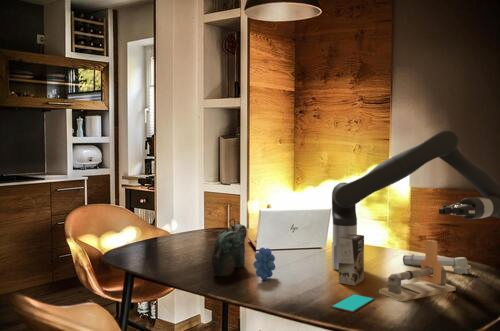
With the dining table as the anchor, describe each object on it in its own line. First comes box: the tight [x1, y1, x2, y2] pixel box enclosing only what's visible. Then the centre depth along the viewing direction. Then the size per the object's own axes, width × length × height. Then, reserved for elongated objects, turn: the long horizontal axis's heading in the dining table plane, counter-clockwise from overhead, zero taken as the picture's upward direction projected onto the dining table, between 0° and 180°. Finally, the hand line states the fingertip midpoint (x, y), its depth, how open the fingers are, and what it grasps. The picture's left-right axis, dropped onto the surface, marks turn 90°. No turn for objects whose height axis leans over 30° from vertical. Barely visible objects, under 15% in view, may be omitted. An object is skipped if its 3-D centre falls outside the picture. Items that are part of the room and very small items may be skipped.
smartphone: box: [330, 293, 375, 314], centre depth 154 cm, size 7×1×15 cm
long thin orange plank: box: [420, 239, 441, 284], centre depth 168 cm, size 2×7×14 cm, turn 27°
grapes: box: [252, 247, 276, 281], centre depth 179 cm, size 12×7×12 cm, turn 141°
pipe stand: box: [378, 266, 457, 302], centre depth 165 cm, size 24×10×7 cm, turn 117°
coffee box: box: [338, 234, 365, 286], centre depth 177 cm, size 9×6×16 cm
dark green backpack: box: [211, 218, 248, 277], centre depth 191 cm, size 20×6×20 cm, turn 150°
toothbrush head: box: [402, 253, 472, 275], centre depth 194 cm, size 5×7×25 cm
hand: (440, 211), depth 168 cm, fingers closed
